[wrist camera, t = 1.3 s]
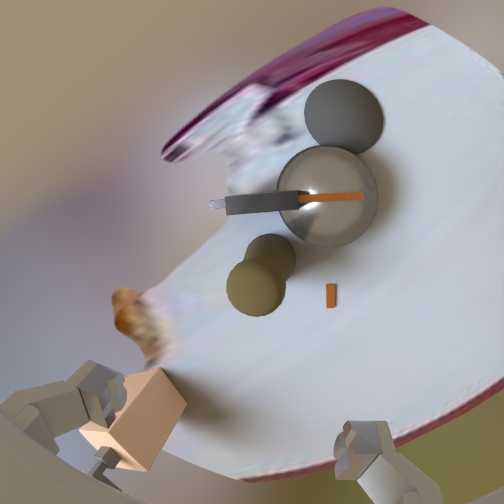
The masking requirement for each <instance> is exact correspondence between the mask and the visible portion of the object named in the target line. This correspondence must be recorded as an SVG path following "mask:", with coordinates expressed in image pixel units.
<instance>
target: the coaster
mask: <svg viewBox="0 0 504 504" xmlns="http://www.w3.org/2000/svg"><path fill="white" fill-rule="evenodd" d="M304 115H305V122H306V125H307V128H308V130H309V132H310V134H311V135H312V137H313V138H314V139H315V140H316V141H317V142H318V143H319V144H320V145H332V146H337V147H341V148H343V149H346V150H348V151H350V152H351V153H353V154H355V153H359V152H362V151H364V150H366V149H368V148H369V147H370V146H372V145H373V144H374V143H375V142H376V140H377V139H378V137H379V135H380V133H381V130H382V125H383V117H382V112H381V108H380V106H379V104H378V102H377V100H376V99H375V97H374V96H373V95H372V94H371V93H370V92H369V91H368V90H367V89H366V88H364V87H363V86H361V85H359V84H357V83H355V82H352V81H349V80H339V79H338V80H331V81H327V82H324V83H322V84H320V85H319V86H317V87H316V88H315V89H314V90H313V91H312V92H311V93H310V95H309V97H308V98H307V101H306V104H305V110H304Z"/></svg>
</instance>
